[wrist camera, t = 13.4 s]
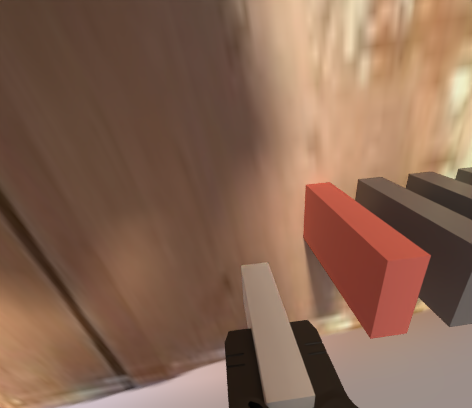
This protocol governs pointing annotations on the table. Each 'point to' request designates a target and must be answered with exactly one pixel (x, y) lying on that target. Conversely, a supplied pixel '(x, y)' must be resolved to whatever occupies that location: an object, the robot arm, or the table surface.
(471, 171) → the domino
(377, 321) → the domino red
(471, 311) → the domino
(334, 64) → the table surface
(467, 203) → the domino
